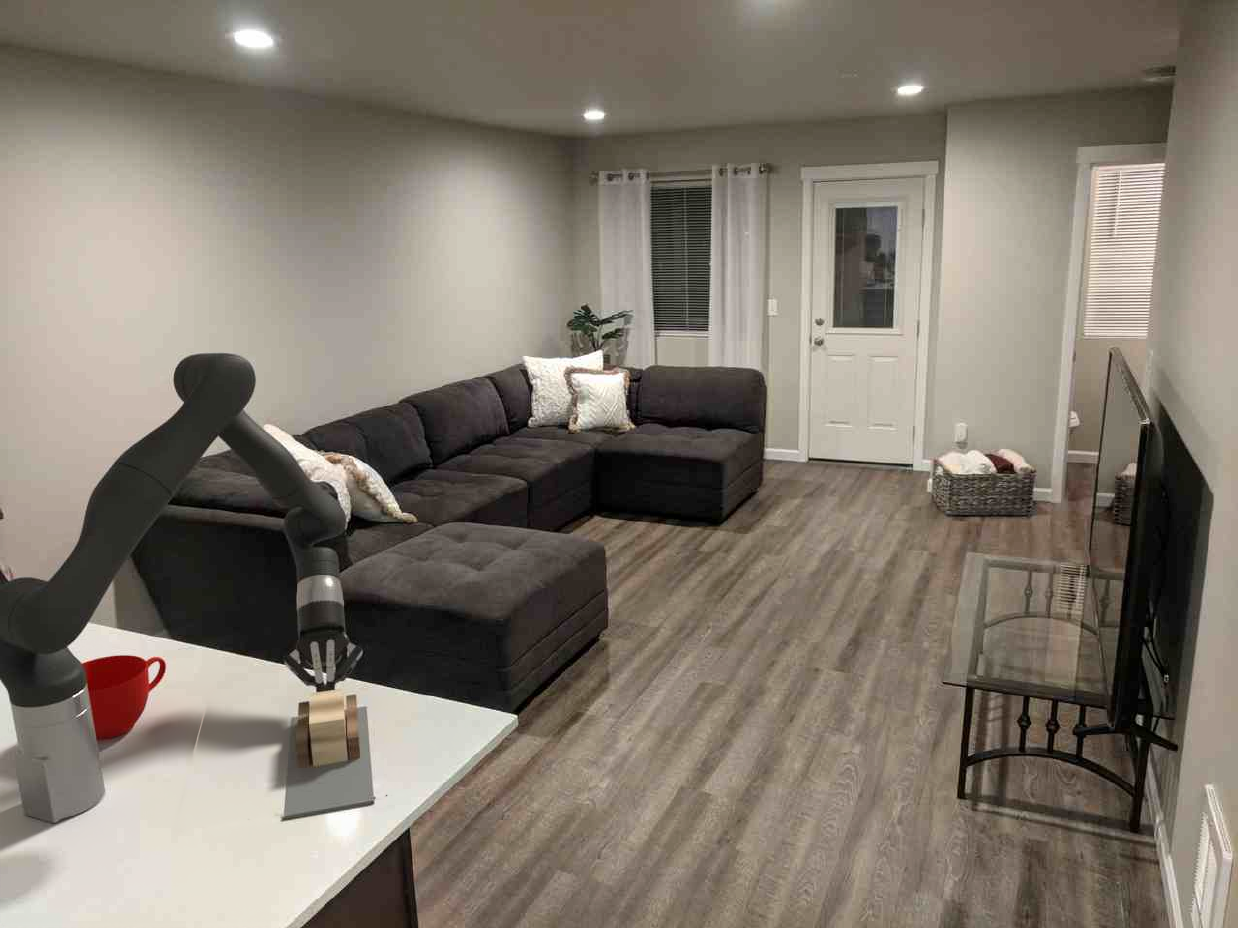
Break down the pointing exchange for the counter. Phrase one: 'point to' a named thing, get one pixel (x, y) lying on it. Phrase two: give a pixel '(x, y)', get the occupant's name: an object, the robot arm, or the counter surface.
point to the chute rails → (304, 731)
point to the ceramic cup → (119, 691)
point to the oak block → (328, 727)
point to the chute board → (329, 778)
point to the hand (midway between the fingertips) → (327, 707)
